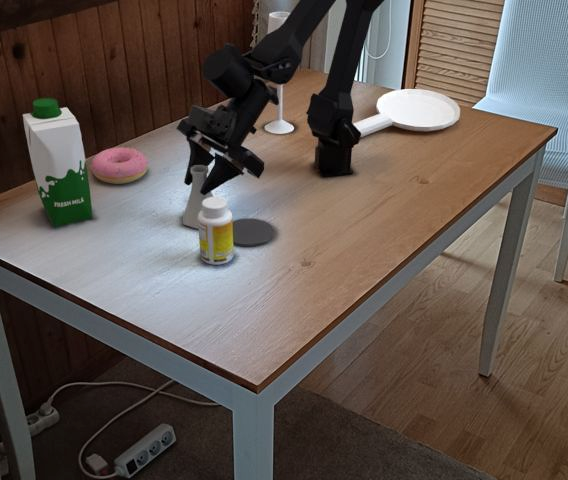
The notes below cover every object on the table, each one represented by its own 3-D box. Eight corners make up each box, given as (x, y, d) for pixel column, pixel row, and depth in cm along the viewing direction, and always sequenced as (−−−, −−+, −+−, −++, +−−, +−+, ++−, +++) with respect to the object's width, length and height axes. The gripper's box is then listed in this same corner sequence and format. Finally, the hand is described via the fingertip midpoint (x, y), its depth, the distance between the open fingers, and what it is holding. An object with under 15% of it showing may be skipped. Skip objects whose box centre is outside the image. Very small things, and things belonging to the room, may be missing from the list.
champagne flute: (258, 129, 166) (258, 16, 151) (274, 119, 171) (275, 8, 156) (284, 136, 164) (286, 21, 149) (299, 126, 168) (303, 13, 153)
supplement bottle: (238, 252, 126) (237, 197, 119) (225, 268, 122) (223, 213, 115) (208, 246, 127) (205, 191, 121) (194, 262, 123) (190, 207, 117)
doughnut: (160, 173, 148) (158, 154, 146) (116, 192, 142) (114, 172, 139) (124, 157, 154) (122, 138, 151) (81, 175, 147) (78, 155, 145)
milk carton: (85, 199, 140) (67, 93, 127) (99, 220, 133) (82, 111, 121) (38, 208, 136) (15, 101, 124) (50, 231, 130) (27, 120, 118)
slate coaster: (266, 218, 135) (266, 215, 135) (279, 243, 128) (280, 240, 128) (218, 224, 133) (217, 221, 133) (229, 249, 126) (229, 247, 126)
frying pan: (363, 169, 156) (365, 149, 152) (306, 134, 166) (307, 114, 163) (475, 123, 172) (479, 104, 168) (416, 93, 182) (419, 75, 179)
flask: (216, 232, 131) (213, 180, 125) (177, 227, 132) (172, 175, 126) (227, 212, 136) (225, 161, 130) (189, 208, 137) (185, 157, 131)
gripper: (181, 71, 127) (133, 149, 128) (250, 103, 116) (197, 188, 117) (220, 105, 136) (174, 178, 137) (287, 138, 125) (237, 216, 126)
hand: (194, 189), depth 129 cm, fingers open, 4 cm apart
